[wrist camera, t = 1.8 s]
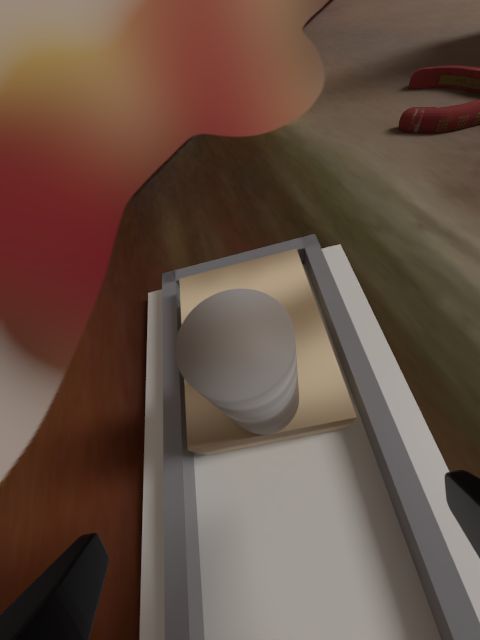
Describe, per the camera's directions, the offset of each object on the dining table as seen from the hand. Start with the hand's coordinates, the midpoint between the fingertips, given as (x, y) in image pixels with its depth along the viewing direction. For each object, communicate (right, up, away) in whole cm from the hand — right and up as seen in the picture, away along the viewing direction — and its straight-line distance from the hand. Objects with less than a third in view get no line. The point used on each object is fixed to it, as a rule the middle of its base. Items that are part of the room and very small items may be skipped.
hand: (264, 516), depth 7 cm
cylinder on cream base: (+1, +2, +13) cm, 14 cm away
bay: (+2, -2, +12) cm, 12 cm away
